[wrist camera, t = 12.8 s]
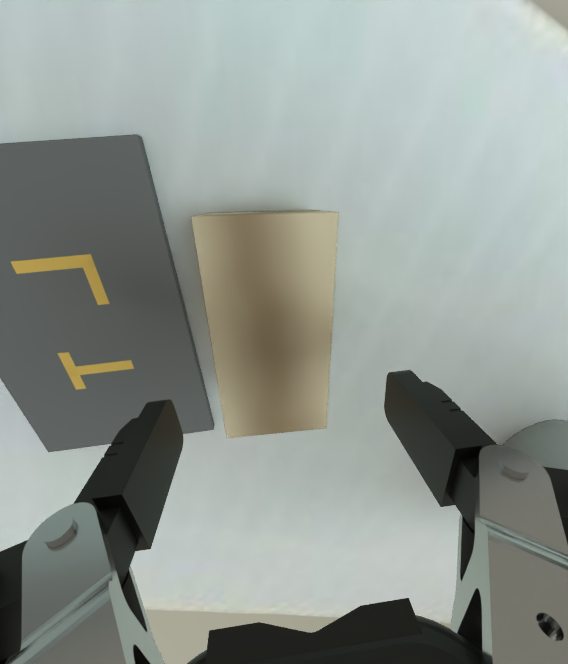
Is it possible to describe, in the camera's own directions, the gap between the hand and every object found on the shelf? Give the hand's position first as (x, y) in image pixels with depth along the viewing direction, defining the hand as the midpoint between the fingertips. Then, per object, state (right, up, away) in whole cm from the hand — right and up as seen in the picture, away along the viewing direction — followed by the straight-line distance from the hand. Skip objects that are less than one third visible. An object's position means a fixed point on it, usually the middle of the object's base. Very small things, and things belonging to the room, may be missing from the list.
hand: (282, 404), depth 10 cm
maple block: (-1, +5, +9) cm, 10 cm away
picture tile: (-13, +3, +8) cm, 16 cm away
